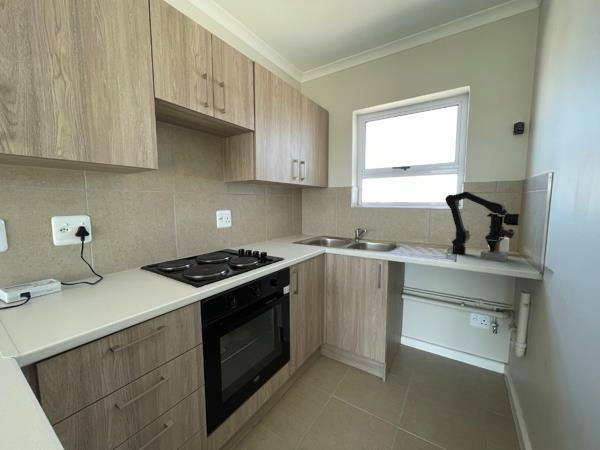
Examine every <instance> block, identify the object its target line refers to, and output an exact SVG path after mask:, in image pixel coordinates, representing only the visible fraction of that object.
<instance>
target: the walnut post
mask: <svg viewBox="0 0 600 450" xmlns="http://www.w3.org/2000/svg"><path fill="white" fill-rule="evenodd" d="M499 251H500V242H497V243H496V246H495V250H494V252H492V251H491V249H490V252H491V253H499Z"/></svg>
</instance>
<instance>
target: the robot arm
mask: <svg viewBox="0 0 600 450" xmlns="http://www.w3.org/2000/svg"><path fill="white" fill-rule="evenodd" d="M466 199H467V200H468V201H471V202H474V203H476V204H478V205H480V206H482V207H484V208H485V209H487V211H490V212H489V213H488V214H487V215H486V217H489V218H490V225H489V227H488V228H489V232H488V234H486V235H485V239H484V240H485V241H486V242H487V244H488V245H489V247H490V249H491V251H492V252H494V250H495V246H496V243H497V242H500V241H501V240H503V239H504V238H509V239H513V238H514V236H515V235H516V233H515V231H514V230H513V228H509V229H506V228H504V226H503V224H505V225H506V226H518V227H520V224H521V222H522V221H521V216H520V215H521V214H520V213H509V212H508V211H507V209H506V207H505V205H504V204H503V203H500V202H496V201H491V200H488V199H485V198H483V197H481V196H479V195H476V194H474V193H471V192H470V191H463V192H460V193H456V194H449V195H446V197H445V202H446V204H447V206H448V207H449V208H450V211H451V215H452V219H453V222H454V225H455V229H456V230H455V238H454V239H453V240H452V241H451V243H452V252H451V254H456V255H465V254H466V252H467V251H466V250H467V247H466V244H467V242H468V241H469V240H470V238H471V235H470V230H467V229H466V228H465V227H464V223H463V219H462V216H461V211H460V208H459V205H460V201H462V200H466ZM501 237H503V238H501ZM488 245H487V246H488Z"/></svg>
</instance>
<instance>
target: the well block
mask: <svg viewBox="0 0 600 450" xmlns="http://www.w3.org/2000/svg"><path fill="white" fill-rule="evenodd" d="M508 257H509V251H508V252H503V251H499V253H491V252H490V250H489V249H484V250H482V251H481V252H480V259H483V260H488V261H497V262H501V263H504V262H506V260H508Z"/></svg>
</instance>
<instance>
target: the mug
mask: <svg viewBox="0 0 600 450" xmlns="http://www.w3.org/2000/svg"><path fill="white" fill-rule="evenodd" d="M501 238H503V237H501ZM509 246H510V238H508V237H505V238H504V239H503V240H501V241H500V251H503V252H508V253H509V251H510V250H509V248H510V247H509ZM487 247H488V250H490V247H489V245H487Z"/></svg>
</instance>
